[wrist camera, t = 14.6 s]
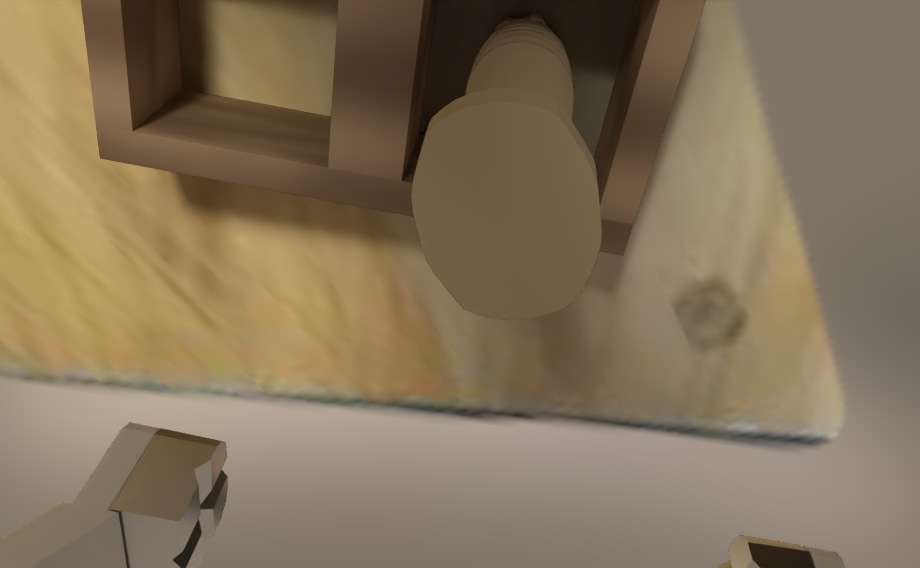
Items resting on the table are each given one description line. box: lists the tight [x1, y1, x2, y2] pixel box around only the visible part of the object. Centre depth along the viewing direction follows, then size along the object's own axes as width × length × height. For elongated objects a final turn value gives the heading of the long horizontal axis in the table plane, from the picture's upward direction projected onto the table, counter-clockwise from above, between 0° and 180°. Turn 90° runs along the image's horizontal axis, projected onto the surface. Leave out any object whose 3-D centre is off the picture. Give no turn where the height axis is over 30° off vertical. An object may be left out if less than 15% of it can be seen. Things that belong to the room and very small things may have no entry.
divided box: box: [81, 0, 706, 255], centre depth 31 cm, size 12×22×5 cm, turn 81°
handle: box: [411, 13, 602, 320], centre depth 26 cm, size 5×6×15 cm
